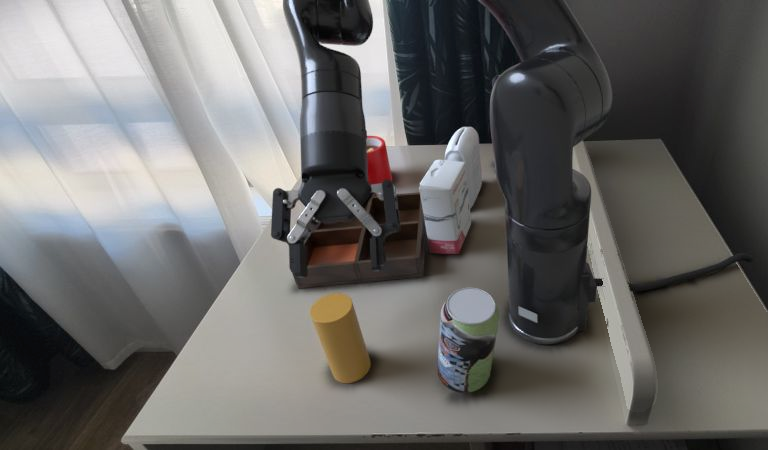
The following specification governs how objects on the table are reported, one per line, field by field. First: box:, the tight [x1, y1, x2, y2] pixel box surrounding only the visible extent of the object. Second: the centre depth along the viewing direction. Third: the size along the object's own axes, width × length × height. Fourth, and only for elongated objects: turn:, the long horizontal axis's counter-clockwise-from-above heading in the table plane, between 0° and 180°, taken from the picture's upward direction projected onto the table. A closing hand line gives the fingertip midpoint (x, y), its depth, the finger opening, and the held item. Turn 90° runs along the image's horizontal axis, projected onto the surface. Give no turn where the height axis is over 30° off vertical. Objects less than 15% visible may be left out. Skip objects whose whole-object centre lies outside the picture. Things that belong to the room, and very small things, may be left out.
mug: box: [366, 135, 393, 185], centre depth 90 cm, size 8×12×8 cm, turn 5°
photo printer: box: [444, 126, 483, 210], centre depth 84 cm, size 10×4×12 cm, turn 169°
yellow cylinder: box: [309, 292, 372, 384], centre depth 55 cm, size 4×4×10 cm
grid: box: [291, 191, 427, 289], centre depth 76 cm, size 18×18×4 cm
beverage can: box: [437, 287, 500, 394], centre depth 53 cm, size 6×7×12 cm
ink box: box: [418, 159, 472, 255], centre depth 75 cm, size 9×5×12 cm, turn 168°
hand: (339, 274), depth 56 cm, fingers open, 8 cm apart
